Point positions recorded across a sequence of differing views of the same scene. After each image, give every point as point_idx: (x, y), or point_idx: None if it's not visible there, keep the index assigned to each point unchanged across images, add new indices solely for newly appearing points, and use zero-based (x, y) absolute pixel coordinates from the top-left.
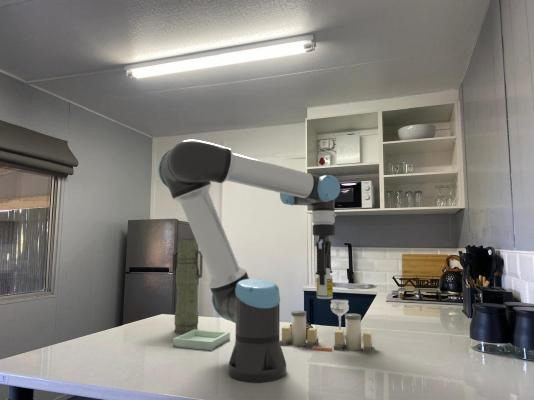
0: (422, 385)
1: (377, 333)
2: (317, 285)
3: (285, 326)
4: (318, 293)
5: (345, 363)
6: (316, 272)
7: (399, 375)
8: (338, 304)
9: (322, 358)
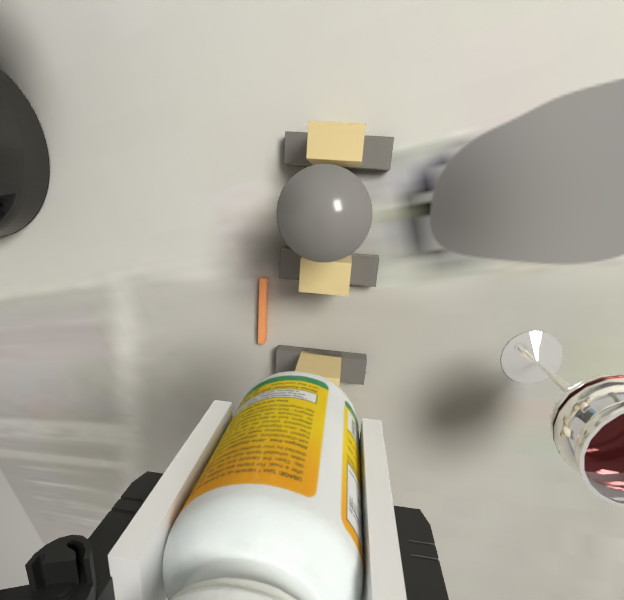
0: (73, 517)
1: (558, 488)
2: (231, 437)
3: (350, 132)
4: (209, 407)
5: (152, 381)
6: (28, 574)
7: (113, 488)
8: (577, 440)
9: (173, 317)
